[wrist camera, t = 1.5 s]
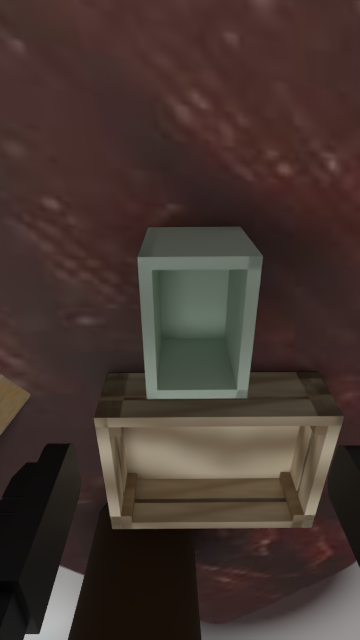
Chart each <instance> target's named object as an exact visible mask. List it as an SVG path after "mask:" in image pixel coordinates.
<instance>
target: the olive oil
mask: <svg viewBox="0 0 360 640" xmlns="http://www.w3.org/2000/svg"><path fill="white" fill-rule="evenodd" d="M68 640H201V630H200V617H199V605H198V593H197V580H196V565H195V549H194V534H193V528H187V529H112V524H111V518H110V512H109V506H108V505H107V506H106V507H105V508H104V509H103V510H102V511H101V513H100V515H99V518H98V522H97V526H96V530H95V534H94V538H93V542H92V547H91V551H90V555H89V559H88V563H87V567H86V571H85V575H84V579H83V583H82V587H81V591H80V595H79V599H78V603H77V606H76V611H75V614H74V618H73V622H72V626H71V630H70V633H69V637H68Z"/></svg>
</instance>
